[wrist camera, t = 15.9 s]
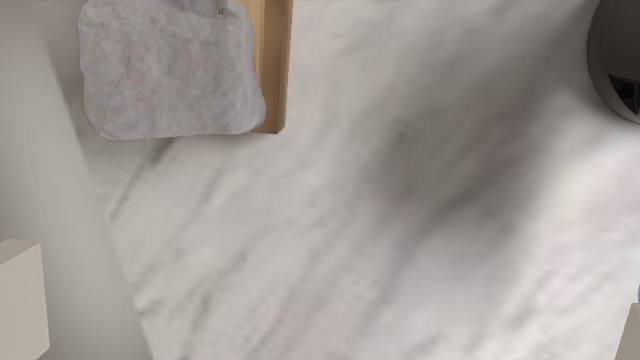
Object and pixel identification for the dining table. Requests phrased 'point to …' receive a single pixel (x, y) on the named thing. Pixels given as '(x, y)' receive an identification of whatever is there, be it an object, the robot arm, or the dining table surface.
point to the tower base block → (276, 63)
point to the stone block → (168, 68)
